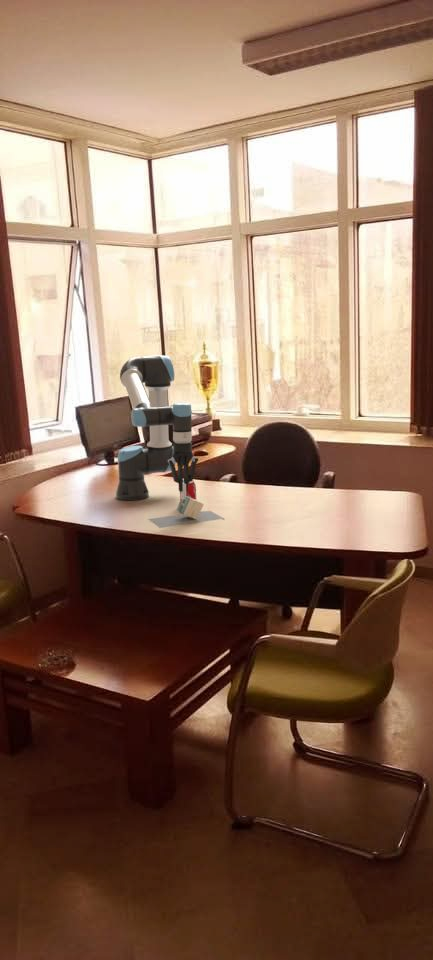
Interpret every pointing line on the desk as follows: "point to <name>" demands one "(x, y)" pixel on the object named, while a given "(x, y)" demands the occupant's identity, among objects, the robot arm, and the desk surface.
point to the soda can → (190, 490)
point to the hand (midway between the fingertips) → (183, 498)
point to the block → (190, 507)
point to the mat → (184, 519)
